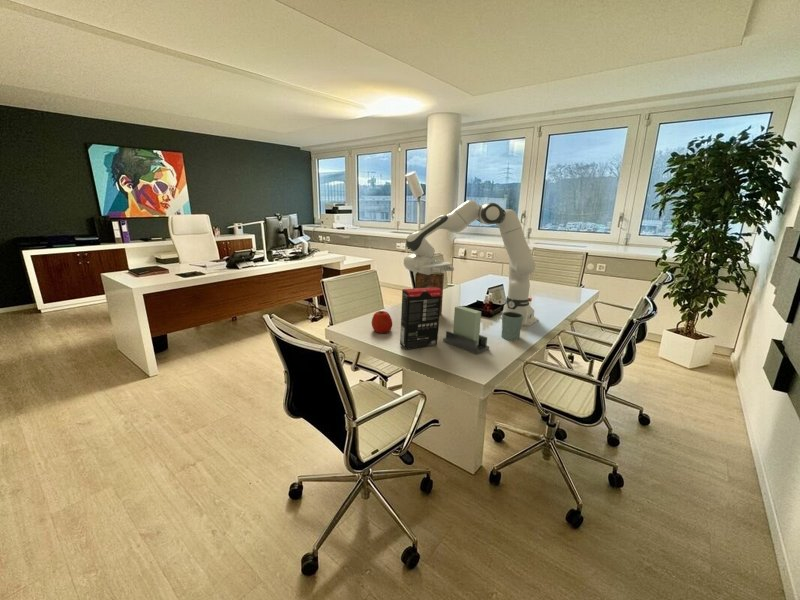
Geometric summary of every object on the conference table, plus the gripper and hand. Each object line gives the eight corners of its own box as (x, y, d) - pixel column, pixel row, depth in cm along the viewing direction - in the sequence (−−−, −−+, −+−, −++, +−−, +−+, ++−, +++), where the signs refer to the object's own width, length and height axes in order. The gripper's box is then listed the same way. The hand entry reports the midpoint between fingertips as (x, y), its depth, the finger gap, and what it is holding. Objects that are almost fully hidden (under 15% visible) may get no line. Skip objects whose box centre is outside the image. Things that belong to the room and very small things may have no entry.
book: (441, 313, 208) (444, 272, 201) (441, 315, 203) (443, 274, 196) (415, 311, 210) (416, 271, 204) (413, 313, 205) (415, 273, 199)
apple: (368, 328, 179) (368, 309, 176) (388, 326, 183) (388, 307, 180) (374, 335, 169) (374, 315, 167) (395, 333, 173) (395, 313, 170)
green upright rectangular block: (458, 337, 165) (460, 305, 161) (478, 345, 156) (481, 311, 152) (452, 339, 163) (454, 307, 159) (472, 347, 154) (475, 313, 150)
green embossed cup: (505, 341, 166) (507, 317, 163) (496, 333, 175) (498, 311, 172) (524, 340, 167) (527, 317, 164) (514, 333, 177) (517, 311, 174)
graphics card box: (431, 340, 165) (434, 285, 158) (439, 345, 159) (442, 288, 152) (399, 345, 158) (400, 288, 151) (405, 351, 152) (407, 291, 145)
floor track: (455, 336, 170) (456, 326, 169) (489, 349, 155) (490, 338, 154) (443, 341, 164) (443, 330, 163) (476, 354, 150) (477, 343, 148)
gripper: (412, 261, 173) (432, 265, 163) (440, 258, 186) (460, 262, 176) (412, 274, 175) (431, 278, 165) (439, 270, 187) (459, 274, 177)
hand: (446, 270), depth 170 cm, fingers open, 8 cm apart
